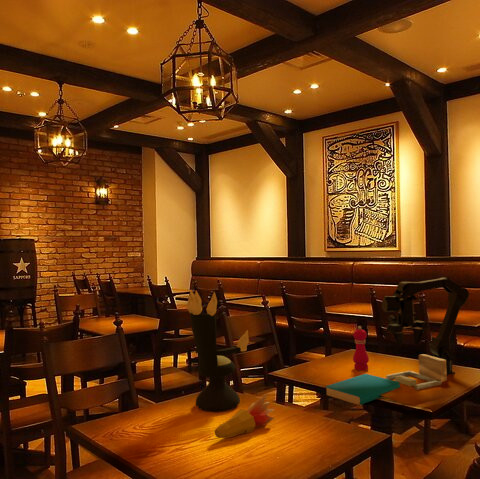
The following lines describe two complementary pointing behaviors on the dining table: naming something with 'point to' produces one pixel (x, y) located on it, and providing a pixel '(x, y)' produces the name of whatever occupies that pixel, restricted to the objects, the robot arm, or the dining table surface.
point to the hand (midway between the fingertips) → (407, 346)
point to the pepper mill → (360, 350)
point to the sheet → (433, 367)
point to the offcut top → (405, 380)
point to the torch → (246, 420)
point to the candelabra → (213, 357)
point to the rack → (428, 384)
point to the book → (361, 388)
